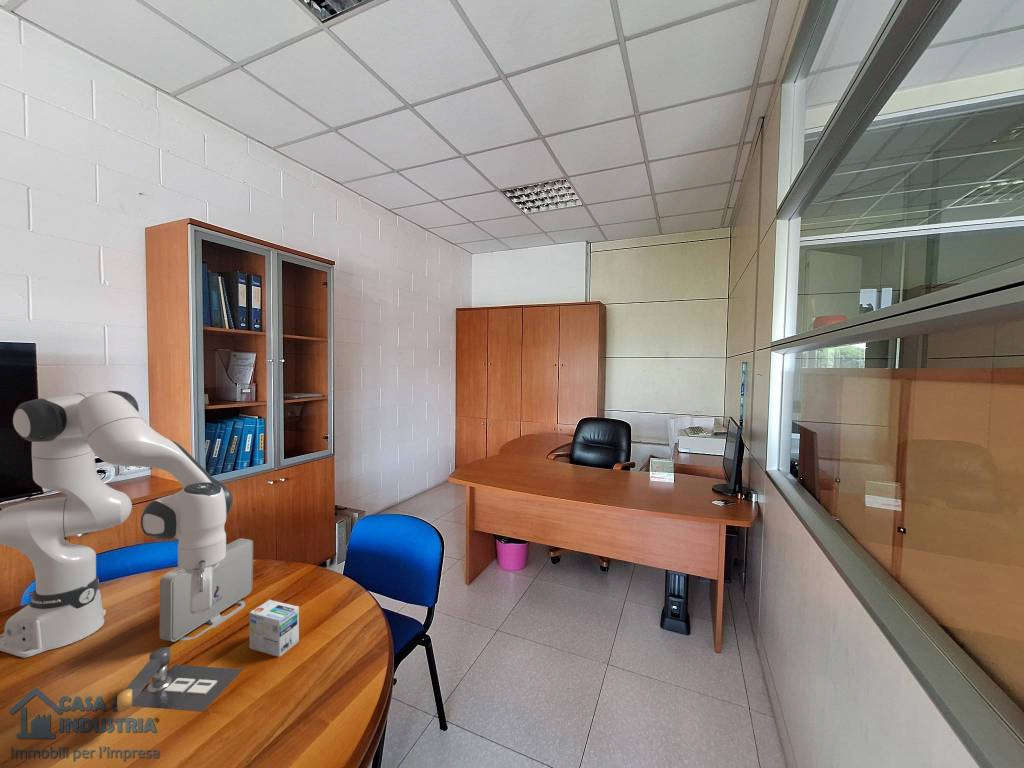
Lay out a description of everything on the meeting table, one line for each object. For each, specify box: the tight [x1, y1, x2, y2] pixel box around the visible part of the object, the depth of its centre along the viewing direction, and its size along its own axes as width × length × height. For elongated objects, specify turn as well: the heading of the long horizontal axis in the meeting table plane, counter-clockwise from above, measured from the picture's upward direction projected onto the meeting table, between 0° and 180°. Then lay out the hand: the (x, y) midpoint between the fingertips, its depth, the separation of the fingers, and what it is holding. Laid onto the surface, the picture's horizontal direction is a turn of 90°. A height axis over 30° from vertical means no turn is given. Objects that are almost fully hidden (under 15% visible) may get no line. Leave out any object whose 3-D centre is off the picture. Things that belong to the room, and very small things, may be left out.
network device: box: [159, 537, 254, 643], centre depth 116 cm, size 26×9×20 cm, turn 168°
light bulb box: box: [249, 599, 300, 658], centre depth 106 cm, size 11×7×11 cm, turn 74°
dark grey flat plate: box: [131, 664, 244, 712], centre depth 92 cm, size 18×12×1 cm, turn 88°
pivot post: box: [146, 664, 172, 692], centre depth 92 cm, size 4×4×5 cm
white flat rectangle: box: [187, 679, 217, 694], centre depth 91 cm, size 4×4×1 cm
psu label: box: [164, 678, 195, 693], centre depth 92 cm, size 4×4×1 cm
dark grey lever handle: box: [116, 646, 171, 713], centre depth 86 cm, size 15×4×3 cm, turn 16°
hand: (202, 610), depth 91 cm, fingers closed
